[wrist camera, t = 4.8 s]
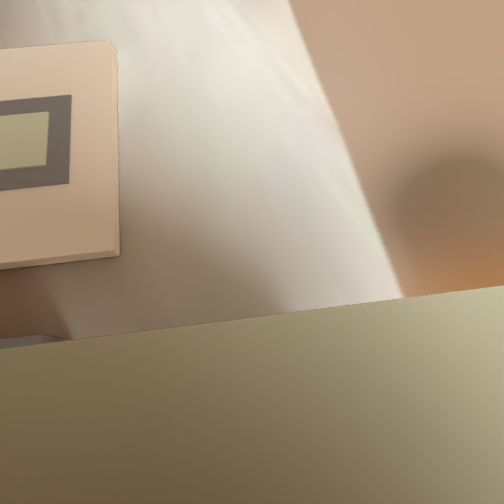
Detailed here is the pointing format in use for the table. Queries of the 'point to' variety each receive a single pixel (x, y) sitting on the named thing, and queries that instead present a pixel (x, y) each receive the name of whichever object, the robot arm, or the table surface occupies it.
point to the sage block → (266, 409)
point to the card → (58, 154)
